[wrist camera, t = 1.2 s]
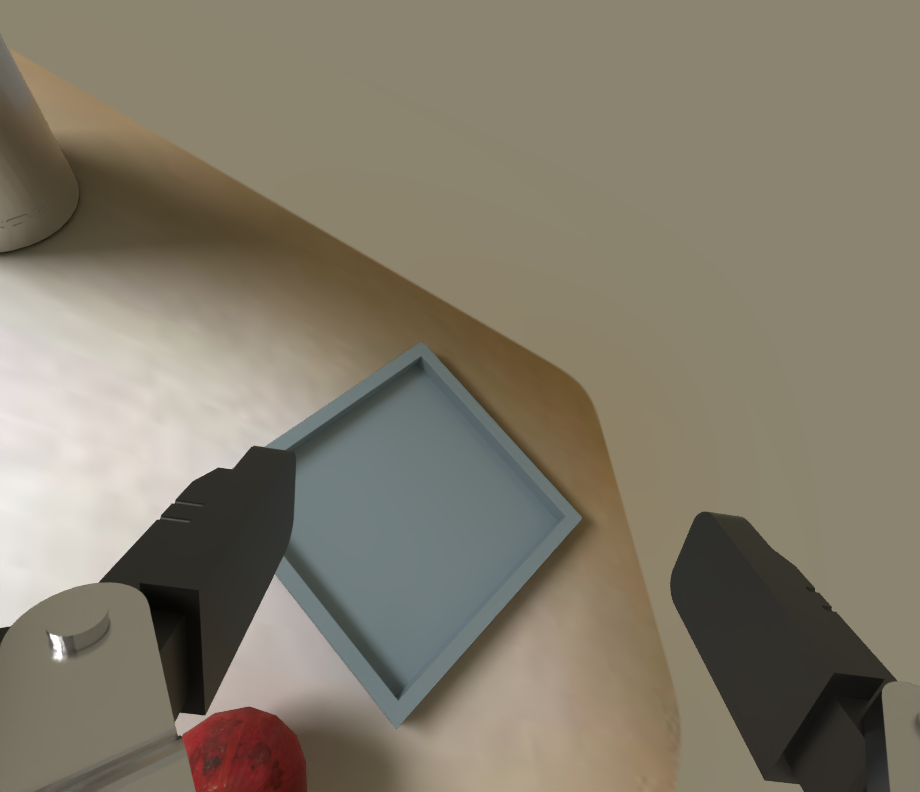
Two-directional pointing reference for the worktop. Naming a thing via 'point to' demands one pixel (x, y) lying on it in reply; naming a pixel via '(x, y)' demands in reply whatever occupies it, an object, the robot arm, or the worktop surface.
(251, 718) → the onion
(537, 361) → the worktop surface
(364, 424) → the dish
